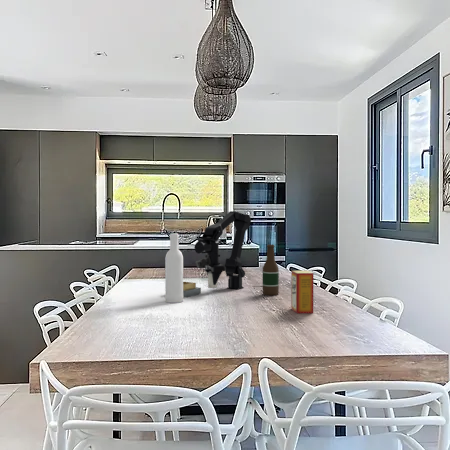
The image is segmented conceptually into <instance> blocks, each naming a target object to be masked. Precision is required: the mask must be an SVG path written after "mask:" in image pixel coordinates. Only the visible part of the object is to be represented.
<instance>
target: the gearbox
mask: <svg viewBox="0 0 450 450" xmlns="http://www.w3.org/2000/svg"><path fill="white" fill-rule="evenodd" d="M201 294H202V287H197V282H192V281H183V298H189V297H193V296H194V297H195V296H197V295H201Z"/></svg>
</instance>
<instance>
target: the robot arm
mask: <svg viewBox="0 0 450 450" xmlns="http://www.w3.org/2000/svg"><path fill="white" fill-rule="evenodd" d="M232 223H233V225H234V227H235V234H234V239H233V243H232V248H231V253H230V256H229V257H228V258H226V259H225V264H221V263H220V262H219V261H220V260H219V259H220V258H221V254H220V253H219V251H220V250H219V249H220V246H219V245H220V244H221V243H222V241H221V240H220V237H221V236H222V235H223V233H224V231H225V230H226V228H228V227H229V226H230V225H231V224H232ZM251 223H252V218H251V216H250V215H249V214H245V213H242V212H240V211H237V210H235V211H234V210H232V211H228V213H227V214H226V215H225V216H223V217H222V218H221V219H220V220H218V221H217V222H216V223H214V224H211V225H209V226H207V227H205V229H204V232H203V234H202V236H201V239H200V238H199V239H197V242H196V243H195V244H194V247H193V248H194V250H195V253H196V254H205V255H204V257H203V258H200V259H198V260H195V265H196V268H198V269H203V271H204V272H206V274H207V276H208V272H210V273H211V274H212V278H213V285H216V283H217V284H218V281H219V279H220V276H221V275H222V273H223V272H225V275H226V277H228V279H227V280H228V282H227V286H228V287H227V288H226V289H229V290H241V289H244V288H245V287H244V286H243V278H245V276H246V272H245V270H244V269H243V263H242V259H241V254H242V250H243V245H244V241H245V235H246V232H247V230H248V229H249V228H250V226H251Z"/></svg>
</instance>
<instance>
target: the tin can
mask: <svg viewBox="0 0 450 450" xmlns="http://www.w3.org/2000/svg"><path fill="white" fill-rule="evenodd" d="M207 285H208V286H207V287H208V289H217V288H218V282H217V283H216V285H213V278H212V274H211V273H210V272H208V275H207Z"/></svg>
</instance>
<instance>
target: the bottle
mask: <svg viewBox="0 0 450 450" xmlns="http://www.w3.org/2000/svg"><path fill="white" fill-rule="evenodd" d="M179 238H180V236H179V233H176V232H175V233H170V234H169V250H168V251H166V254H165V257H164V258H165V260H164V261H165V263H164V265H165V268H164V269H165V273H164V274H165V279H164V280H165V282H164V283H165V289H164V290H165V294H164V299H165V302H166V303H169V304H177V303H182V302H184V297H183V282H184V256H183V253H182V251H181V250H180V249H179Z"/></svg>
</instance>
